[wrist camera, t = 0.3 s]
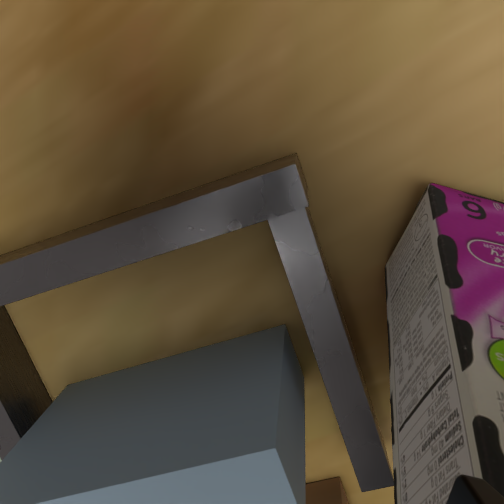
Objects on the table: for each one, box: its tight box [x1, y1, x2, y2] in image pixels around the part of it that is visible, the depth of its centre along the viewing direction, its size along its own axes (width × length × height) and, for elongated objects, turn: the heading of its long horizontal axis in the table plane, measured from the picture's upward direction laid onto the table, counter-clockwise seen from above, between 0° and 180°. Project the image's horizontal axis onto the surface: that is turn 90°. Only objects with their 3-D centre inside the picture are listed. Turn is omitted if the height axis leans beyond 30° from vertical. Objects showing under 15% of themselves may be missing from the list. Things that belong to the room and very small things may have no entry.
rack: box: [0, 153, 394, 492], centre depth 22 cm, size 15×18×5 cm
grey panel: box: [0, 324, 306, 504], centre depth 20 cm, size 3×12×9 cm, turn 109°
